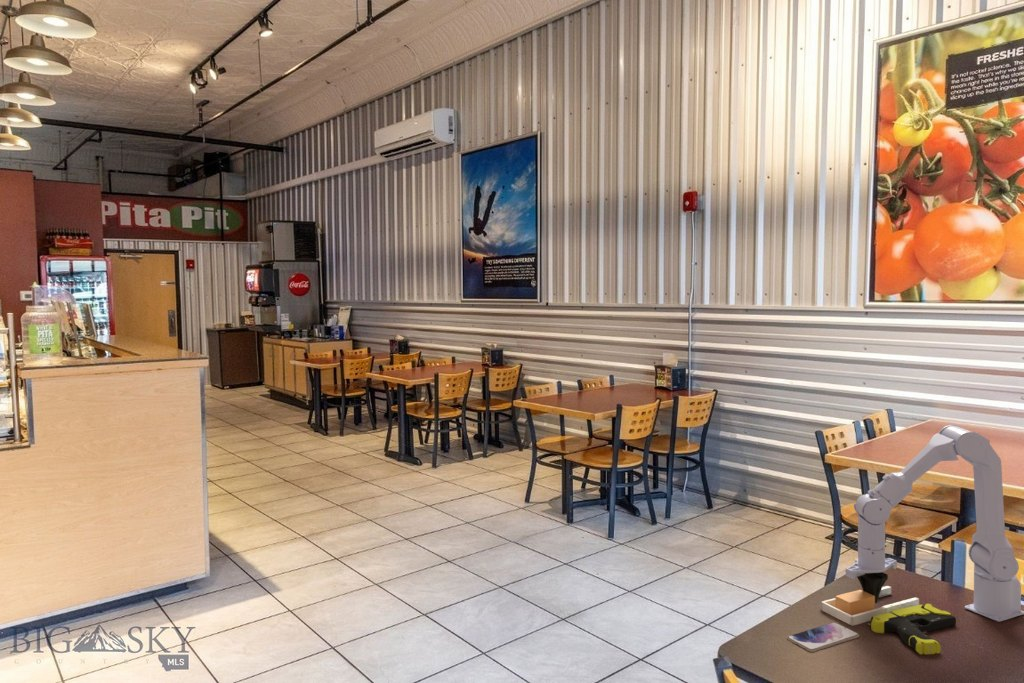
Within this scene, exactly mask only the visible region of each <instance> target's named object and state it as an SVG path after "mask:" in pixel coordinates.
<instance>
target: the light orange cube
mask: <svg viewBox="0 0 1024 683" xmlns="http://www.w3.org/2000/svg"><path fill="white" fill-rule="evenodd" d="M848 593H850V594H852V595H854V596H856V597H858V598H861V599H862V613H863V612H866V611H870V610H874V609H876V606H875V596H874V595H871V594H869V593H867V592H865V591H863V589H857V590H853V591H849V592H848Z"/></svg>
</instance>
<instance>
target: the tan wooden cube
mask: <svg viewBox="0 0 1024 683" xmlns="http://www.w3.org/2000/svg"><path fill="white" fill-rule="evenodd" d="M834 598H835V608H837V609H839V610H841V611H843V612H846V613H848V614H850V615H856V614H859V613H862V599H861V598H858V597H856V596H854V595H852V594H850V593H849V592H845V593H841V594H837V595H835V597H834Z"/></svg>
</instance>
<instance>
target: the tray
mask: <svg viewBox="0 0 1024 683" xmlns="http://www.w3.org/2000/svg"><path fill="white" fill-rule="evenodd" d="M885 609H886V608H885V607H882V606H881V607H878V608H875V609H874V610H870V611H866V612H863V613H859V614H856V615H850V614H848V613H846V612H843V611H841V610H839V609H837V608H835V597H834V598H831V599H830V598H829V599H825V600H823V601H820V611H822V612H825V613H826V614H828V615H830V616H832V617H834V618H836V619H838V620H840V621H842V622H844V623H846V624H848V625H850V626H857V625H860V624H863V623H867V622H871V618H872V616H876V615H881V614H885Z"/></svg>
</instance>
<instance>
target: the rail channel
mask: <svg viewBox="0 0 1024 683" xmlns="http://www.w3.org/2000/svg"><path fill="white" fill-rule="evenodd" d="M890 595H892V586H889V585H885V586H883V587H882V589H881V591H880V594H879V598H883V597H885V596H886V597H887V596H890ZM916 605H920V598H918V597H915V596H914V597H912V598H911V597H910V598H908V599H903V600H900V601H897V602H892V603H890V604H885V605H883V606H881V607H885V608H886V609H885V613H890V612H892V611H893V610H897V609H902V608H907V607H912V606H916Z"/></svg>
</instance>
